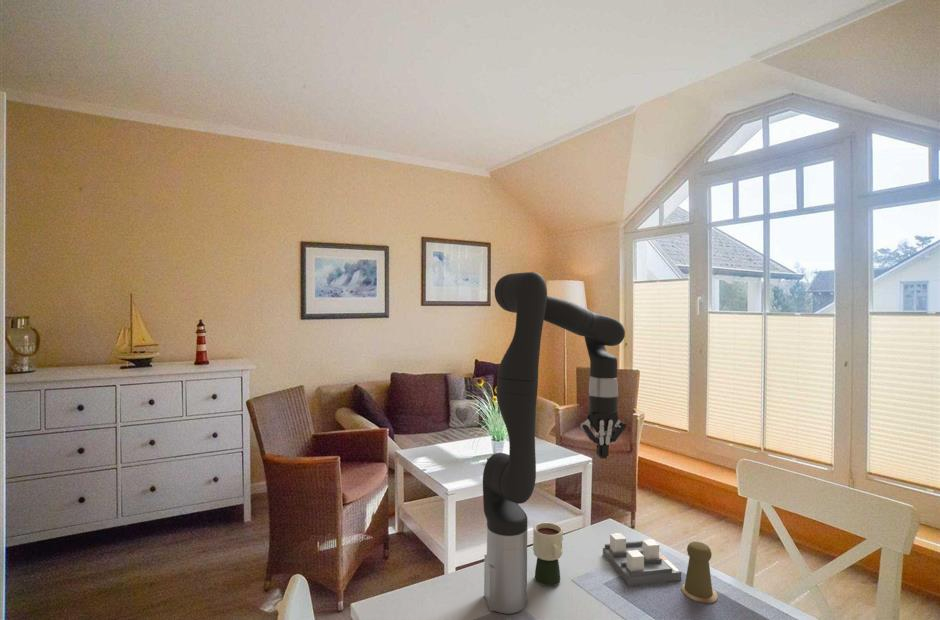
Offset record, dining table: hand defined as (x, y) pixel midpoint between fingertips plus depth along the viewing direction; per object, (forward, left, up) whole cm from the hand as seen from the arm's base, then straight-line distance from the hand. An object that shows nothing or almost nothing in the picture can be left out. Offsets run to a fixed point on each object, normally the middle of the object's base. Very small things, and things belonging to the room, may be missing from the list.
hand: (602, 457), depth 126 cm
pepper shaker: (+16, -18, -27) cm, 36 cm away
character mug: (-18, -8, -27) cm, 34 cm away
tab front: (+4, -10, -25) cm, 27 cm away
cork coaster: (+16, -18, -27) cm, 36 cm away
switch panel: (+8, -6, -27) cm, 29 cm away
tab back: (+4, -2, -25) cm, 25 cm away
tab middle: (+11, -6, -25) cm, 28 cm away
